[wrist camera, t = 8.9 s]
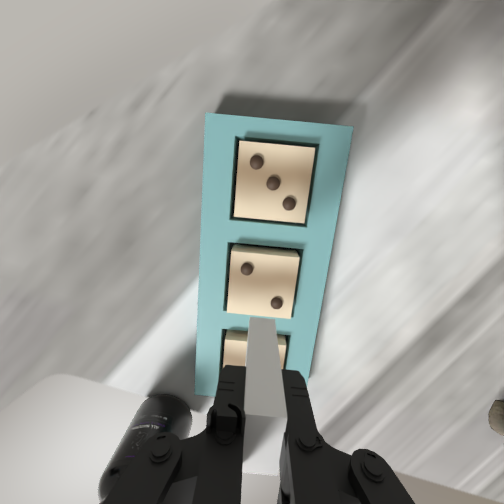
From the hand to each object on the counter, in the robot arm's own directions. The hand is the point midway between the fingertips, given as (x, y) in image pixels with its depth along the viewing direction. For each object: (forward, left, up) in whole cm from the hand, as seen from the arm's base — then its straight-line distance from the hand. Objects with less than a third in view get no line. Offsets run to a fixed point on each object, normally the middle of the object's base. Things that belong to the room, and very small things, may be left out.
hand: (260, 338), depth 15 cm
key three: (0, +9, -11) cm, 14 cm away
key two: (0, 0, -11) cm, 11 cm away
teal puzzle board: (0, 0, -12) cm, 12 cm away
